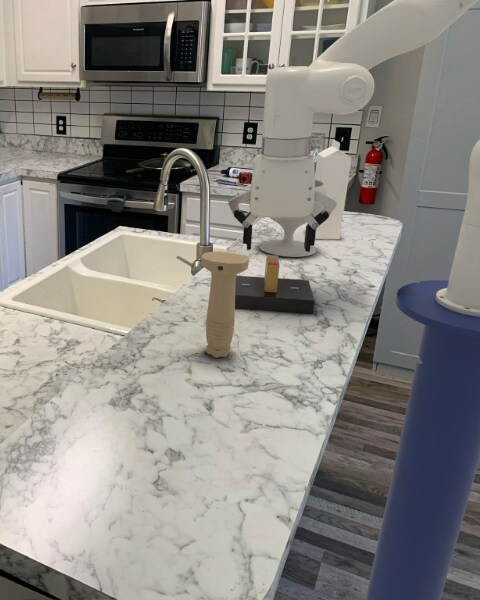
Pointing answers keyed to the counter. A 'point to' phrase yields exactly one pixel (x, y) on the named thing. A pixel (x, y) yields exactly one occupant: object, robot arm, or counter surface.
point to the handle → (222, 299)
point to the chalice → (289, 226)
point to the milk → (333, 187)
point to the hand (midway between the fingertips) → (277, 248)
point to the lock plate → (274, 295)
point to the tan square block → (271, 273)
